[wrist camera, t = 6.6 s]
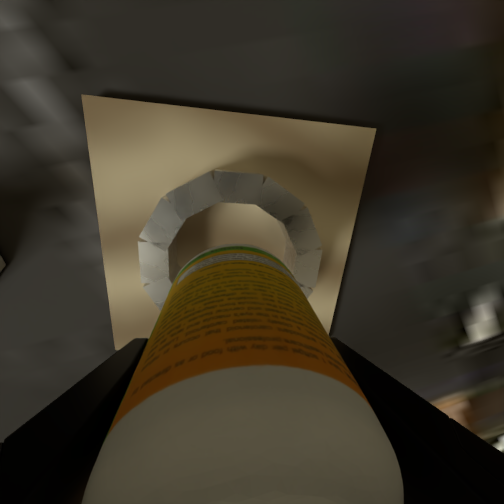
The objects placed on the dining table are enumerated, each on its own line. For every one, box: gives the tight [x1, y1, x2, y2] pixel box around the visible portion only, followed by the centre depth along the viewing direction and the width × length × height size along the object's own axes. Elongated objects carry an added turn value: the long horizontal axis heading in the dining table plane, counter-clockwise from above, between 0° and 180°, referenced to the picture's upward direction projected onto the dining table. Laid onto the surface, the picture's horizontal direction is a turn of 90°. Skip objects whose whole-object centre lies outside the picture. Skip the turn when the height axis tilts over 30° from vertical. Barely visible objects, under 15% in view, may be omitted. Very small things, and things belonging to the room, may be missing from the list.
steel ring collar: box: [138, 169, 322, 311], centre depth 15 cm, size 10×10×2 cm
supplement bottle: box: [82, 244, 404, 504], centre depth 6 cm, size 5×5×10 cm
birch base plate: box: [82, 95, 376, 350], centre depth 16 cm, size 16×16×1 cm
